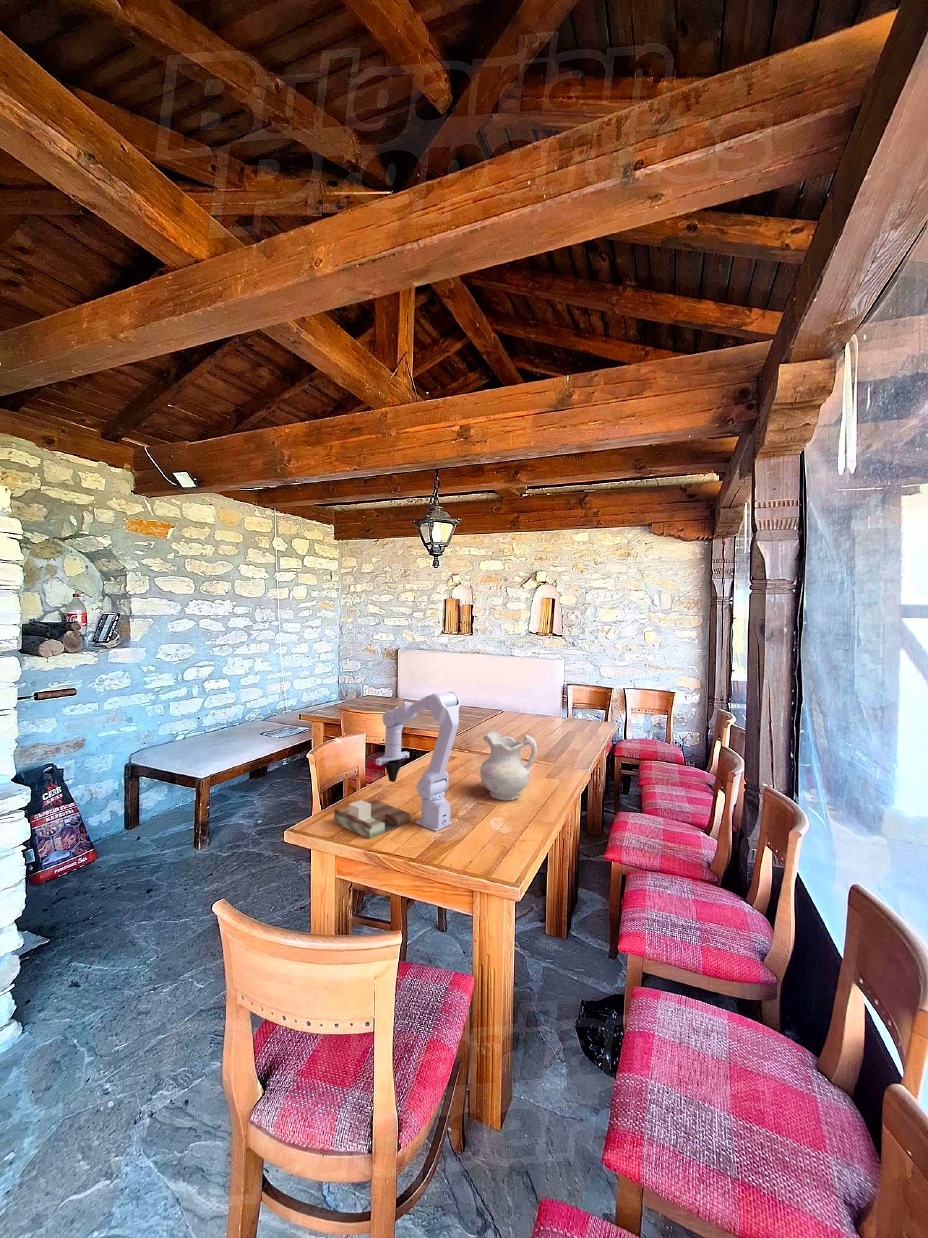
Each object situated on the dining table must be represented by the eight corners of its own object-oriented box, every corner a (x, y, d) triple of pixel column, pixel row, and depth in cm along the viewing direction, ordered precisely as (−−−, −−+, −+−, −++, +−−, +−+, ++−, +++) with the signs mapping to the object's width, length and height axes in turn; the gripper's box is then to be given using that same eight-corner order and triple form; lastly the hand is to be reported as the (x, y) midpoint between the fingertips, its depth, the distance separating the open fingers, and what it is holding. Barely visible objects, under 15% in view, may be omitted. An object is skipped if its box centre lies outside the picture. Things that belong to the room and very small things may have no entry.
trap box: (409, 822, 163) (409, 809, 163) (369, 839, 150) (370, 825, 150) (373, 808, 174) (374, 796, 174) (334, 822, 161) (334, 809, 161)
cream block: (370, 817, 158) (371, 803, 158) (358, 822, 154) (358, 808, 155) (360, 813, 162) (361, 800, 162) (348, 818, 158) (348, 804, 158)
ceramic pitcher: (534, 792, 198) (535, 730, 200) (536, 806, 179) (538, 737, 181) (481, 789, 200) (482, 727, 202) (478, 803, 181) (479, 734, 183)
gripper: (400, 738, 184) (399, 774, 184) (370, 744, 172) (369, 783, 172) (413, 741, 179) (412, 778, 179) (383, 748, 168) (382, 788, 168)
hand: (392, 781), depth 175 cm, fingers closed
